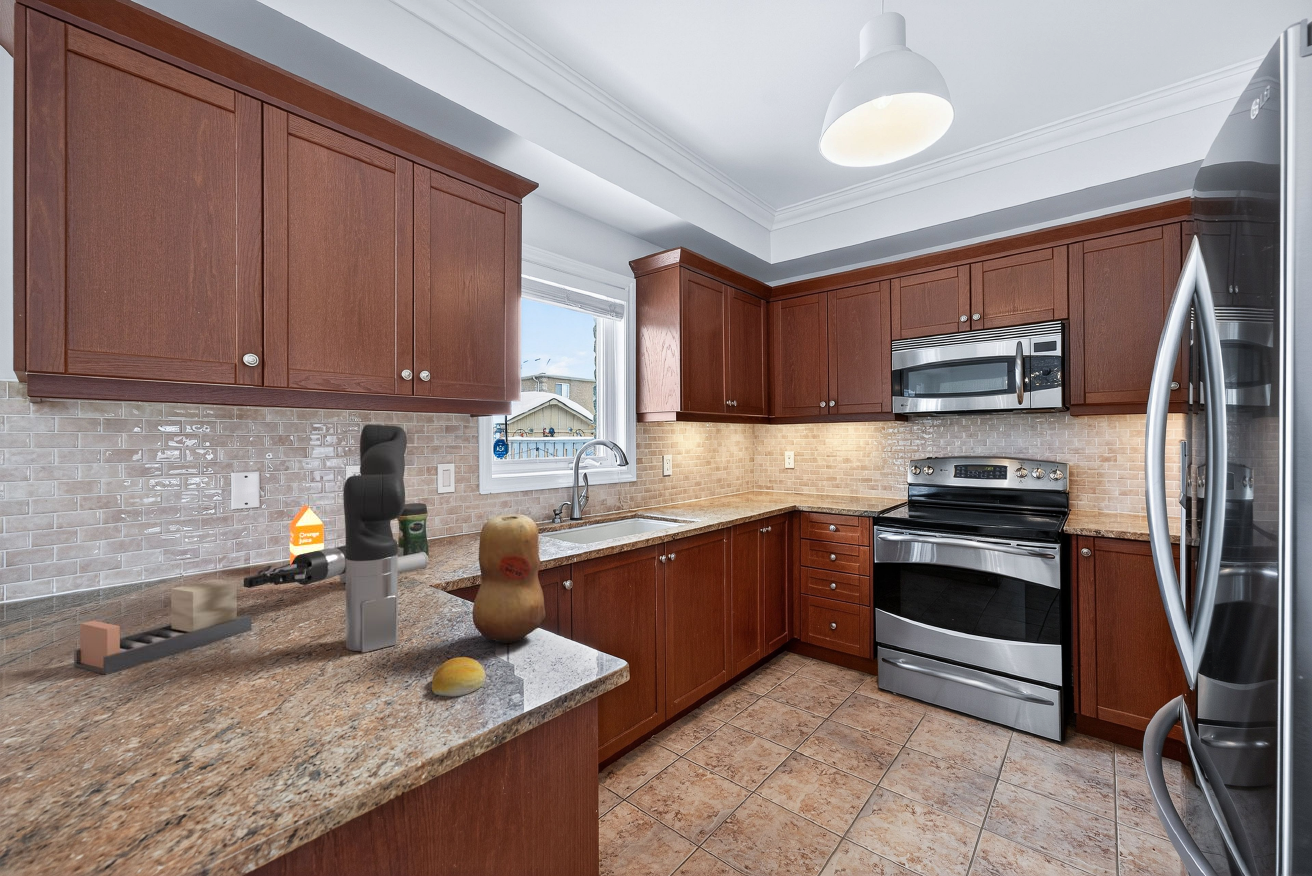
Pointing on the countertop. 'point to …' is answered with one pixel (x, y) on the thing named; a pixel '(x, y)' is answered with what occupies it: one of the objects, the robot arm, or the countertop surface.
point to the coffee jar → (413, 530)
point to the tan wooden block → (203, 604)
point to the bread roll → (458, 677)
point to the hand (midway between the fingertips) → (245, 583)
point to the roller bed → (162, 644)
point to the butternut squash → (509, 579)
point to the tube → (406, 563)
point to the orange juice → (305, 533)
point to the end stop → (98, 642)
